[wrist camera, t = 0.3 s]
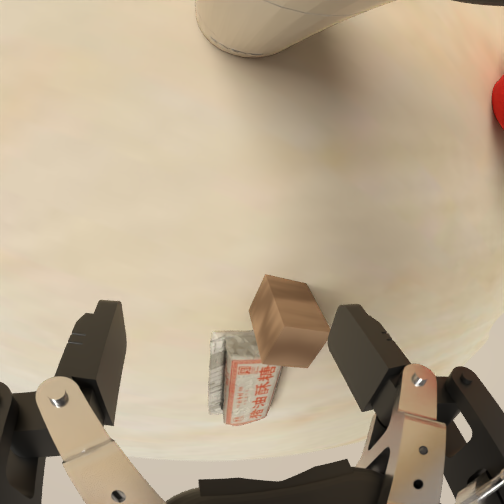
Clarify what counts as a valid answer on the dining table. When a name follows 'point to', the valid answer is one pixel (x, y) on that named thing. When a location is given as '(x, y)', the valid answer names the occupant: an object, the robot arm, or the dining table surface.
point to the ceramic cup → (499, 101)
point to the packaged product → (239, 378)
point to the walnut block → (287, 323)
